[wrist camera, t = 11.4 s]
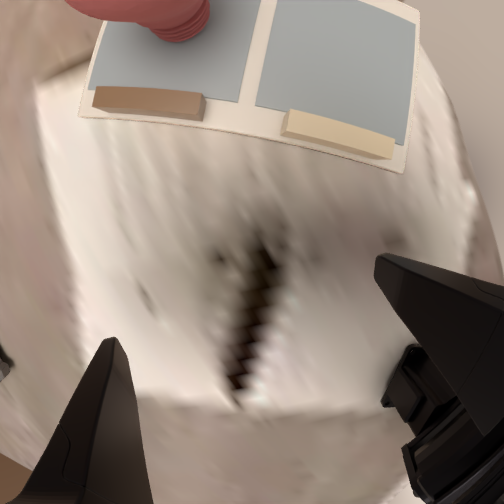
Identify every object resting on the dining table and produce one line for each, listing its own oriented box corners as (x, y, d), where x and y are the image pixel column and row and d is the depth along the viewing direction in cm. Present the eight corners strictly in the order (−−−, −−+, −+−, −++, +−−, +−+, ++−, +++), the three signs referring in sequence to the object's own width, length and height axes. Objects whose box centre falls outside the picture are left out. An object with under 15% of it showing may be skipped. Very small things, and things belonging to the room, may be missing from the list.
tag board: (414, 14, 15) (435, -1, 12) (397, 173, 19) (422, 175, 16) (133, -38, 14) (121, -60, 10) (82, 117, 17) (58, 111, 14)
